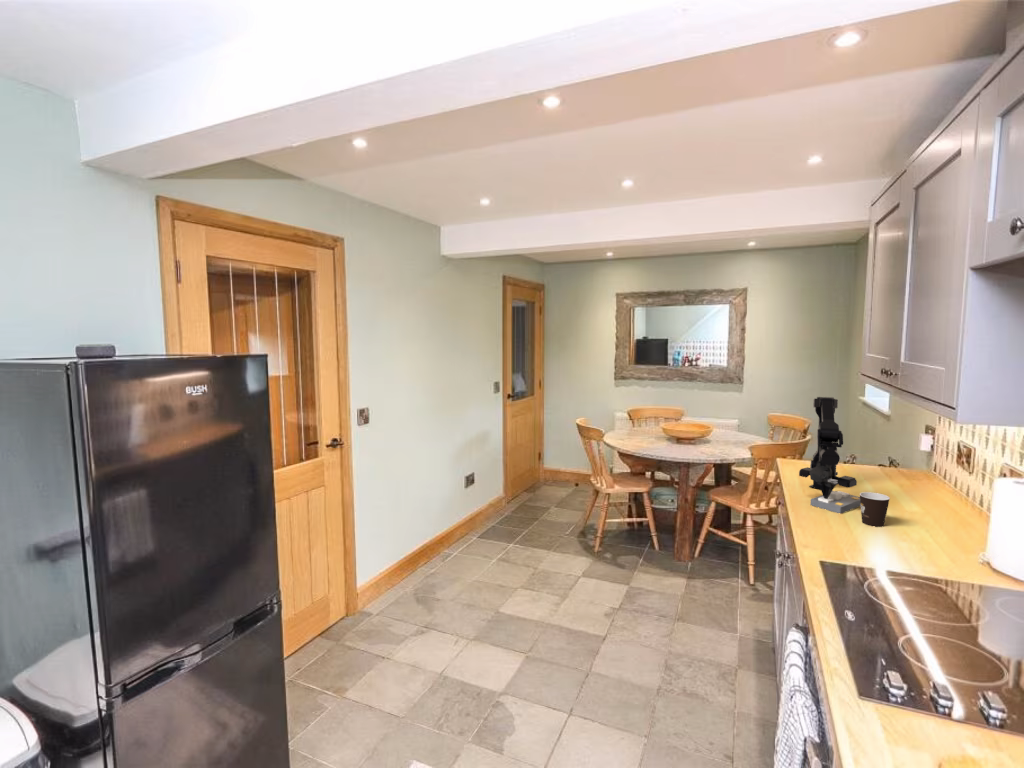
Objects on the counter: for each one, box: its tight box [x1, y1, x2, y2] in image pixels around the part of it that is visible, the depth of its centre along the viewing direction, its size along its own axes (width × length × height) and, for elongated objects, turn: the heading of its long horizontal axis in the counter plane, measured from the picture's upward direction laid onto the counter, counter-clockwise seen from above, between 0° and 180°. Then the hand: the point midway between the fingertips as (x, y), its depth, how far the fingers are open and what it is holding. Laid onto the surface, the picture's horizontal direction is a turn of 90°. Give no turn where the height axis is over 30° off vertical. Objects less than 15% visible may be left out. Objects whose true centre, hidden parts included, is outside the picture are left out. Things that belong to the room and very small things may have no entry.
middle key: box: [828, 490, 842, 500], centre depth 200 cm, size 4×4×3 cm
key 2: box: [837, 490, 850, 497], centre depth 203 cm, size 4×4×3 cm
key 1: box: [818, 497, 834, 503], centre depth 197 cm, size 4×4×3 cm
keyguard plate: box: [810, 490, 861, 515], centre depth 199 cm, size 18×11×3 cm, turn 121°
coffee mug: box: [859, 491, 891, 528], centre depth 181 cm, size 12×9×10 cm
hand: (825, 498), depth 197 cm, fingers closed, pressing on key 1
